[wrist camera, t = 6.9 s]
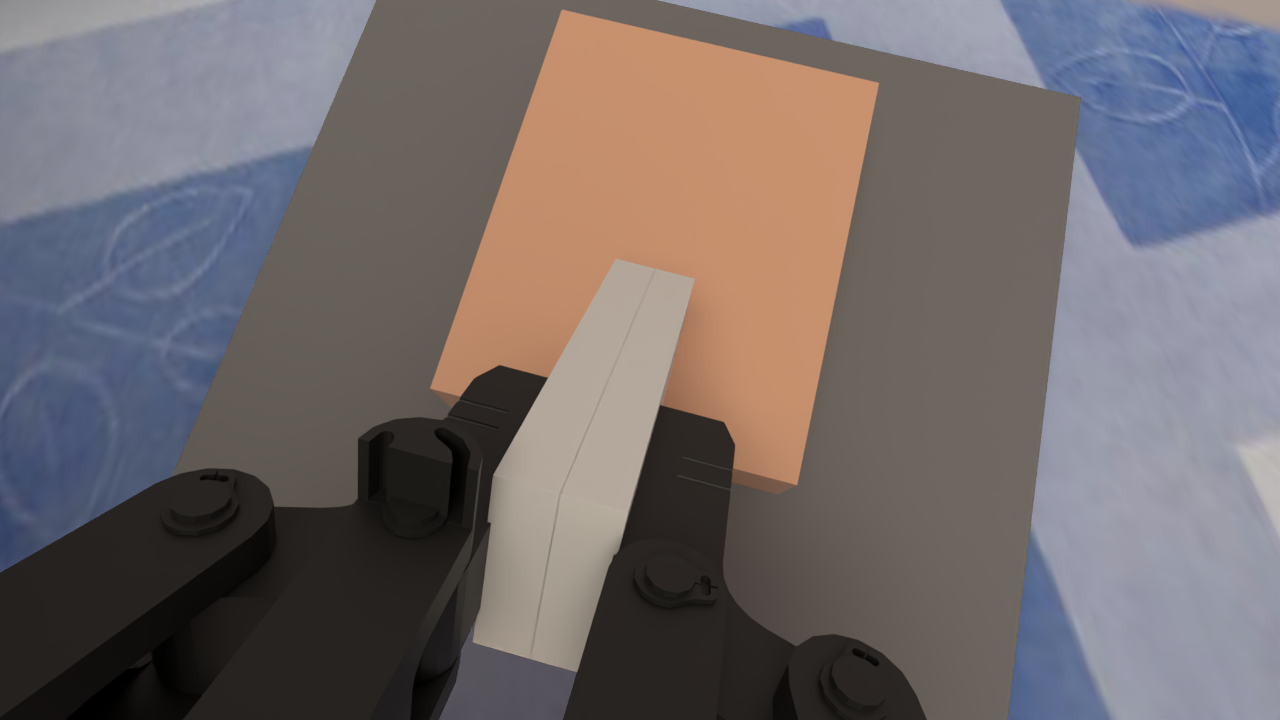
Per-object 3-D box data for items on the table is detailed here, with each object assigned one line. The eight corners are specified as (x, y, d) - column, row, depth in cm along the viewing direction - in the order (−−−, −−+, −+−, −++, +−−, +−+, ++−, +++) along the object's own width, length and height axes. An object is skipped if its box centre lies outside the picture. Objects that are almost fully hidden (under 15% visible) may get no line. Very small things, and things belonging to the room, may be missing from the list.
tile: (797, 485, 15) (879, 82, 18) (429, 388, 16) (561, 9, 18) (775, 495, 18) (850, 137, 20) (455, 411, 18) (569, 71, 21)
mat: (991, 740, 17) (1004, 746, 16) (172, 512, 18) (157, 510, 17) (1068, 110, 21) (1081, 97, 21) (407, -42, 22) (401, -59, 22)
